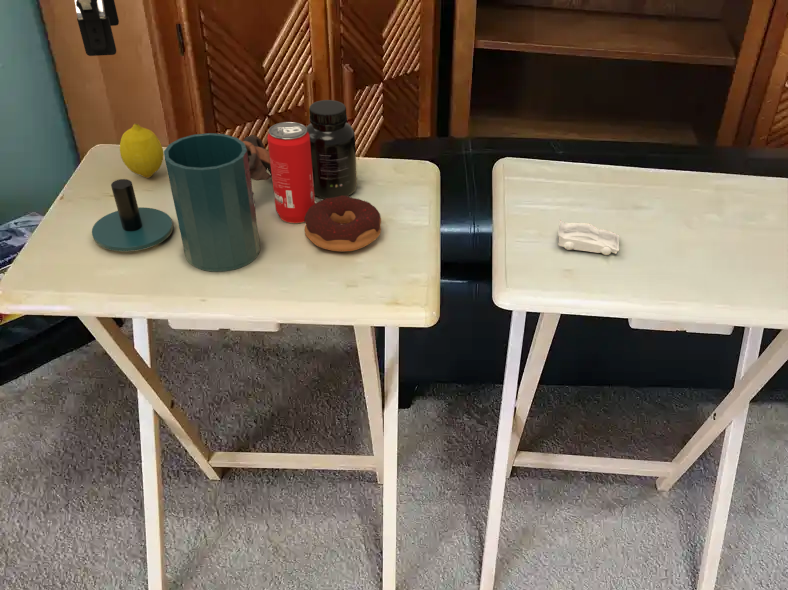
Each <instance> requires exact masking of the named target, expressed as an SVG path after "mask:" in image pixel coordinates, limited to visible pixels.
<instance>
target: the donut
mask: <svg viewBox="0 0 788 590" xmlns="http://www.w3.org/2000/svg"><path fill="white" fill-rule="evenodd" d="M304 219H305V222H304V223H305V225H304V229H303V230H304V233H305V236H306V237H307V239H308V240H309V241H310V242H312V243H313V244H314V245H315V246H317V247H318V248H321V249H323V250H324V249H325V250H328V251H333V252H352V251H357V250H360V249H362V248H365V247H366V246H368V245H370V244H372V243H373V242H374V241H376V240H377V239H378V238H379V237H380V235H381V233H382V226H381V224H382V218H381V214H380V212H379V210H378V209H377V207H376V206H375V205H373V204H371V202H369V201H367V200H363V199H360V198H354V197H352V196H351V197H350V196H339V197H334V198H327V199H325V198H323V199H322V200H319V201H317V202H315V204H314V205H312V206H311V207H310V208H309V209H308V211H307V213H306V215H305V218H304Z"/></svg>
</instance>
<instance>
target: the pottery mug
mask: <svg viewBox="0 0 788 590" xmlns="http://www.w3.org/2000/svg"><path fill="white" fill-rule="evenodd" d="M241 141H242V142H243V143H245V146H246V149H247V155H248V162H249V169H250V176H251V180H254V181H267V180H269V179H270V178H271V179H272V173H271V164H270V156H269V149H268V150H267V149H266V148H265V145H264V143H263V141H262V139H261V138H260V137H259V136H258V135H255V134H250V135H248V136H245V137H244V139H243V140H241ZM254 194H255V193H254V192H253V195H254Z"/></svg>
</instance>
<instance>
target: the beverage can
mask: <svg viewBox="0 0 788 590" xmlns="http://www.w3.org/2000/svg"><path fill="white" fill-rule="evenodd" d="M306 127H307V126H306V125H304V124H302V123H299V122H295V121H293V122H292V121H284V122H279V123H278V122H277V123H276V124H273V125H272V126H270V127H269V128H268V134H267V136H266V137H267V138H266V139H267V146H268V151H269V156H270V164H271V173H272V178H271V180H272V190H273V197H274V206H275V211H276V212H277V214H278V215H279V218H280V219H281V220H282V221H283V222H285V223H288V224H303V223H305V219H304V218H305V215H306V213H307V211H308V209H309V208H310V207H311V206H312V205H314V204H316V197H315V195H314V184H313V172H312V159H311V147H310V136H309V133H308V132H307V128H306Z"/></svg>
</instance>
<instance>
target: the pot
mask: <svg viewBox="0 0 788 590" xmlns="http://www.w3.org/2000/svg"><path fill="white" fill-rule="evenodd" d="M242 141H243V140H241V139H239V138H238V137H236V136H232V135H229V134H225V133H213V132H207V133H196V134H190V135H187V136H183V137H180V138H178V139H176V140H175V141H173V142H171V143H169V144H168V145H167V146H166V147H165V149H163V154H164V155H163V159H164V163H165V167H166V173H167V176H168V181H169V186H170V191H171V195H172V199H173V200H172V201H173V205H174V209H175V214H176V218H177V223H178V227H179V228H178V229H179V233H180V237H181V242H182V247H183V251H184V256H185V259H186V261H187V262H188V264H190V265H191V266H193V268H196V269H198V270H202V271H206V272H213V273H214V272H216V273H218V272H220V273H221V272H230V271H234V270H238V269H241V268H244V267H246V266H248V265H249V264H251V263H252V262H254V261H255V260H256V258H258V256H259V254H260V252H261V243H260V235H259V230H258V229H259V227H258V222H257V214H256V207H255V200H254V199H255V198H254V194H253V193H254V191H253V184H252V179H251V176H250V169H249V162H248V155H247V149H246V146H245V143H243V142H242Z"/></svg>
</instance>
